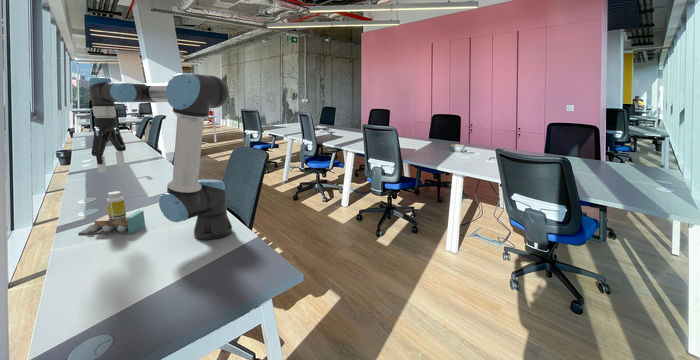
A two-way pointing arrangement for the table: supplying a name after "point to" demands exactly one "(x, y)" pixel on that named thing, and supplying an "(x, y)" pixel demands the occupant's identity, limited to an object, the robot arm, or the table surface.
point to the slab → (111, 221)
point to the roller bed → (118, 226)
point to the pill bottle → (116, 205)
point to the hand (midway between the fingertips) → (112, 169)
